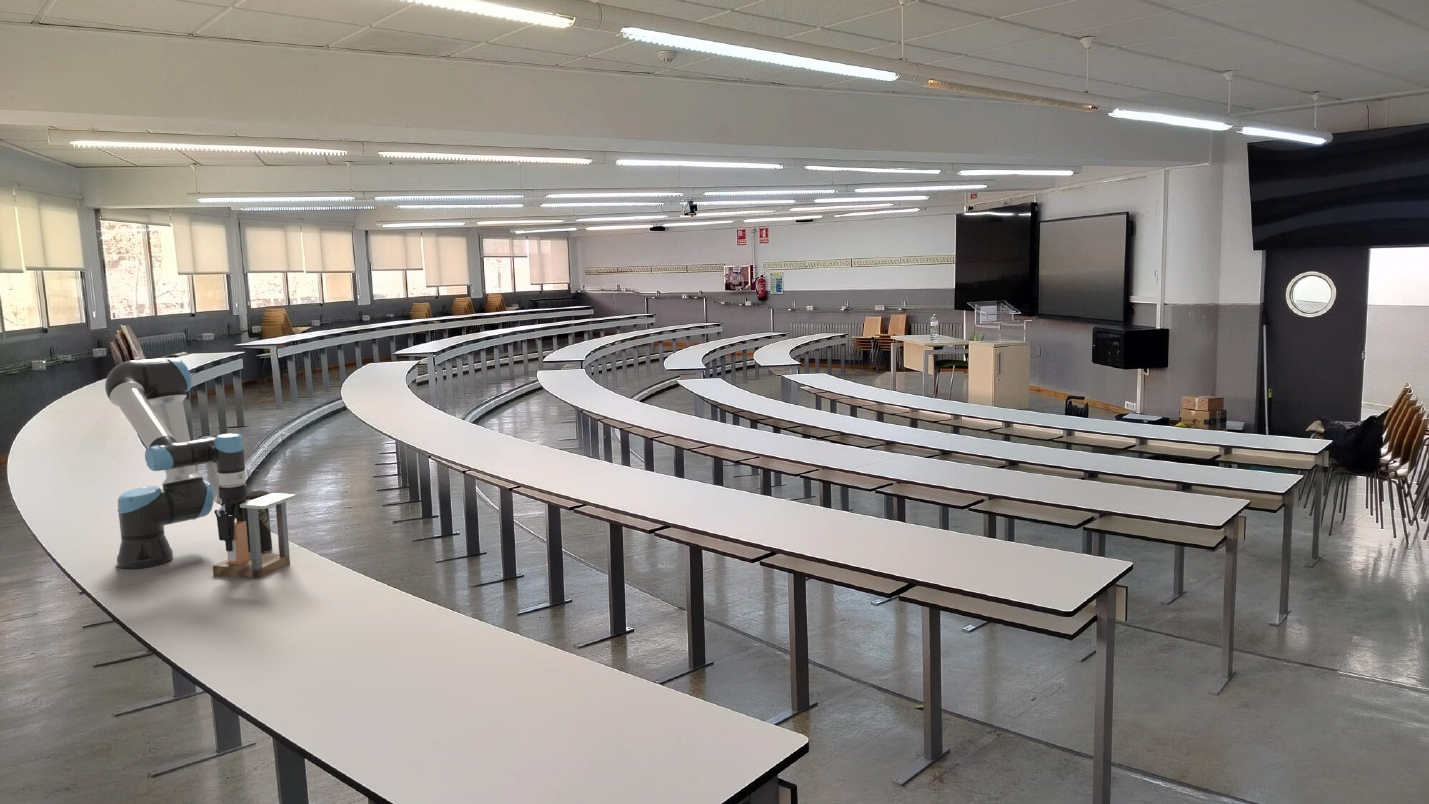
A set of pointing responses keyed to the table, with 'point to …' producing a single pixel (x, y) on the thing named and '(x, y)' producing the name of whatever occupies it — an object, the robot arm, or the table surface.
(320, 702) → the table surface
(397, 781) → the table surface
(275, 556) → the socket board
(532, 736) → the table surface
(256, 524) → the white topped stool
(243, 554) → the peg
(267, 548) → the container
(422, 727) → the table surface
